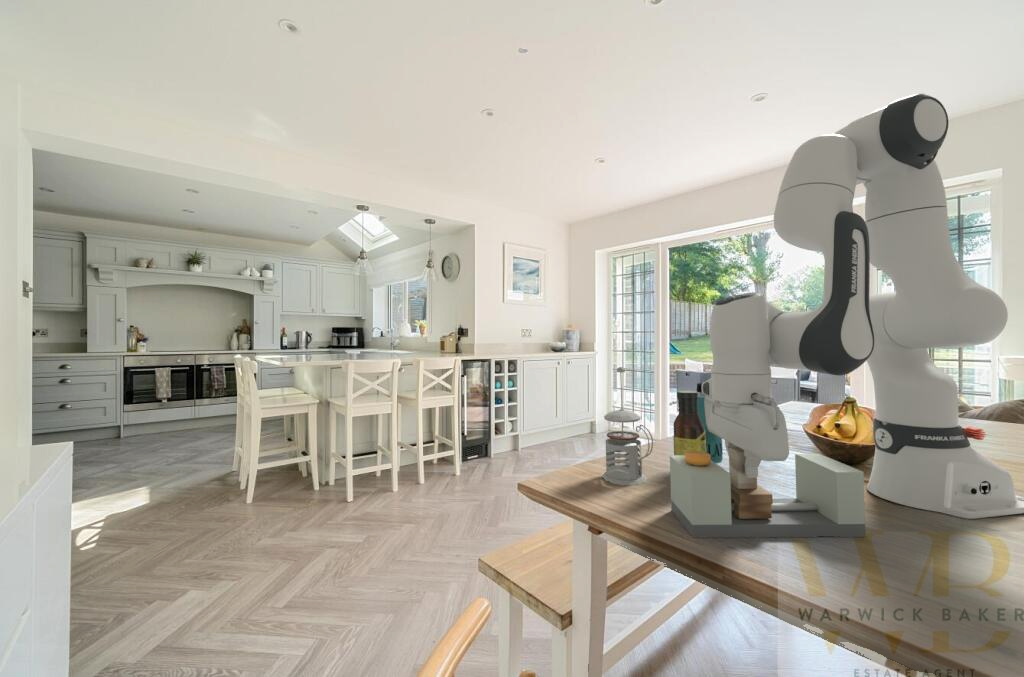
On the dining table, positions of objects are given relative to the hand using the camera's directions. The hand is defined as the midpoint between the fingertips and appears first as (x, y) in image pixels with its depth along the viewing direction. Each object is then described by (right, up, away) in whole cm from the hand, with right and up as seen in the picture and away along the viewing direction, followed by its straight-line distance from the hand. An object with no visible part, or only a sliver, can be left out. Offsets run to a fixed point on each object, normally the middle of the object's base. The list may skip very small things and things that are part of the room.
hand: (743, 472), depth 68 cm
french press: (-13, -9, +23) cm, 28 cm away
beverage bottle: (+8, -8, +30) cm, 32 cm away
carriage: (0, -6, 0) cm, 6 cm away
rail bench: (+3, -8, 0) cm, 9 cm away
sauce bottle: (-1, -9, +17) cm, 19 cm away
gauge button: (-7, -3, 0) cm, 8 cm away
